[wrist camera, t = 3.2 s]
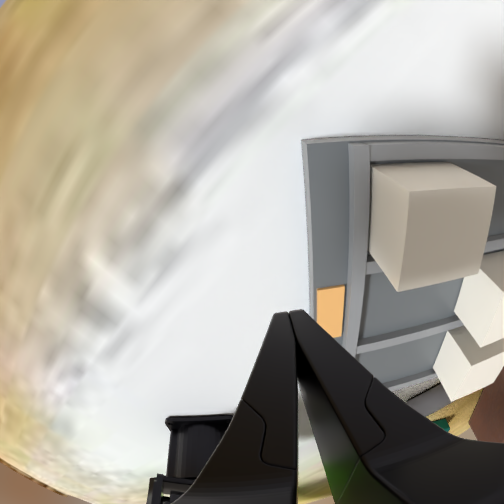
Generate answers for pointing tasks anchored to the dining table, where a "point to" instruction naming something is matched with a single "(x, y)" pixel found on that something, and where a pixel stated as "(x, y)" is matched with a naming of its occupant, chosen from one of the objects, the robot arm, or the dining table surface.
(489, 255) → the cream block
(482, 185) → the cream square block
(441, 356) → the white block
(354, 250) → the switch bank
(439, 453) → the robot arm
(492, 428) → the letter holder
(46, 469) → the dining table surface
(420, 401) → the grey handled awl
